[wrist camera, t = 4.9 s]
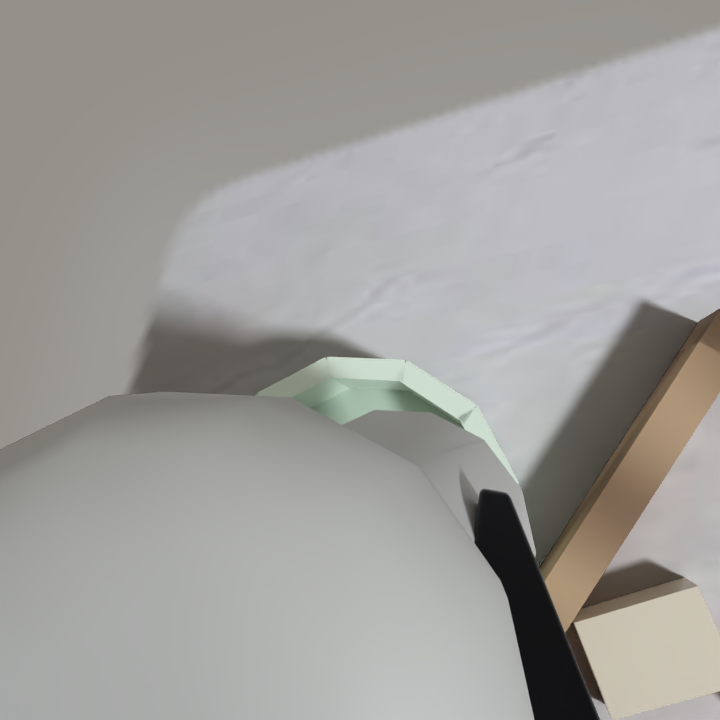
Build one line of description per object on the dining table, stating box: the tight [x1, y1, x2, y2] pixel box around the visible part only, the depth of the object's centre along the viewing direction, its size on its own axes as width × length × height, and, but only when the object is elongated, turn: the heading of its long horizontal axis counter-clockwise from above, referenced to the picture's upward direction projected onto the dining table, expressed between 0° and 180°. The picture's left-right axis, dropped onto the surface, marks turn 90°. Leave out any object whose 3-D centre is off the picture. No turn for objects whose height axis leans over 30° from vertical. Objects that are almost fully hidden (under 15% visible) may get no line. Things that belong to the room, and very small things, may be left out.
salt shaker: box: [0, 392, 536, 720], centre depth 9 cm, size 6×6×13 cm
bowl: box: [255, 357, 520, 487], centre depth 20 cm, size 10×10×4 cm
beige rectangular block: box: [572, 577, 720, 720], centre depth 19 cm, size 4×3×2 cm
